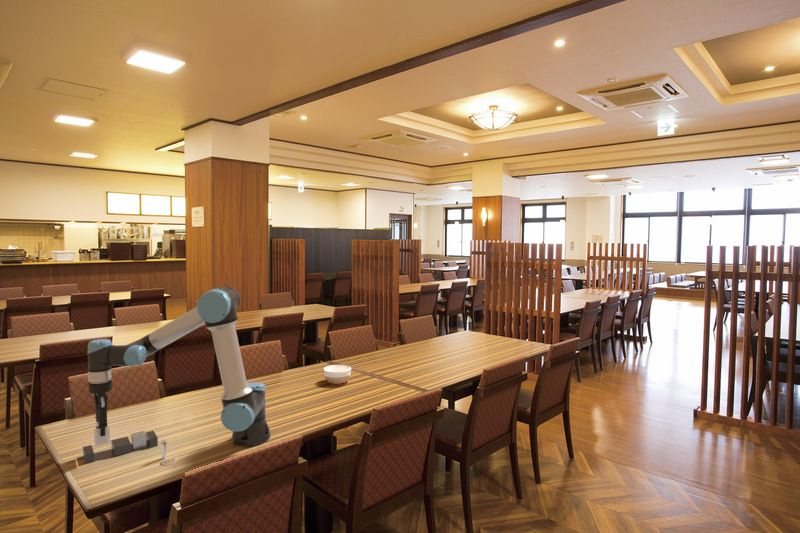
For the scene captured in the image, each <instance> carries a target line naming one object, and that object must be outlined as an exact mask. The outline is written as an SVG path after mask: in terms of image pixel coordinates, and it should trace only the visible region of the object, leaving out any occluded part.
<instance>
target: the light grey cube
mask: <svg viewBox="0 0 800 533" xmlns="http://www.w3.org/2000/svg"><path fill="white" fill-rule="evenodd" d="M130 443H131V446H132V448H133V450H136V449H140V448H144V447H146V431H144V430H140V431H137V432H133V433H130Z"/></svg>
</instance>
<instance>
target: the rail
mask: <svg viewBox="0 0 800 533" xmlns="http://www.w3.org/2000/svg"><path fill="white" fill-rule="evenodd" d="M145 434H146V447H144V448H140V449H136V450H133V448H132V446H131V440H130V439H129V437H128V436H123V437H119V438H116V439H112V440H111V439H110V443H111V449H107V450H106V449H105V450H102V451H98V452H94V449H93V446H92V444H90V445H85V446H82V457H83V461H84V465H87V464H92V463H95V462H98V461H103V460H107V459H110V458H115V457H118V456H122V455H127V454H131V453H134V452H138V451H143V450H146V449H150V448H151V449H152V448H155V447H158V444H159V441H158V439H159V438H158V437H159V436H157V434H156V432H155V431H154V430H150V431H145Z"/></svg>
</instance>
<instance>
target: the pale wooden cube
mask: <svg viewBox="0 0 800 533" xmlns="http://www.w3.org/2000/svg"><path fill="white" fill-rule="evenodd" d="M110 431H111V430H110V427H109V426H108V425H107V443H105V444H109V443H111V438H110V435H111V434H110V433H111V432H110ZM93 434H94V436H93V437H94V438H93V439H94V440H93V442H94V445H95V447H97V446H99V445H98V429H96V428H93ZM105 444H104V445H105ZM101 445H103V444H101ZM101 445H100V446H101Z"/></svg>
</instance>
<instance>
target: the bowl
mask: <svg viewBox="0 0 800 533" xmlns="http://www.w3.org/2000/svg"><path fill="white" fill-rule="evenodd" d="M323 371H324V373H323V375H324V379H325V380H326V381H327V382H330V383H333V384H332V385H334V384H339V385H342V384H341V383H344V384H346V383H347V382H348V380H350V378H351V374H352V373H351V371H352V367H351V366H349V365H348V364H347V365H345V364H332V365H331V364H330V365H327V366H325V367H324V368H323ZM346 381H347V382H346ZM345 382H346V383H345ZM330 383H329V384H330Z"/></svg>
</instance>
